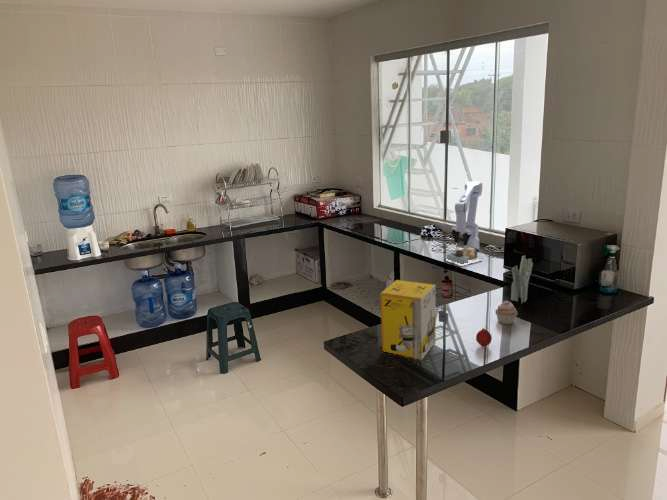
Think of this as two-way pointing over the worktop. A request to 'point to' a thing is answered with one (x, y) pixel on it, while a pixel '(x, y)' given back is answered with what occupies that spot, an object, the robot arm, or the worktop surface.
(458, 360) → the worktop surface
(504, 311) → the cupcake
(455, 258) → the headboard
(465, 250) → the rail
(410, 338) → the packaging box
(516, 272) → the pale green stalk cluster
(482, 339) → the onion
